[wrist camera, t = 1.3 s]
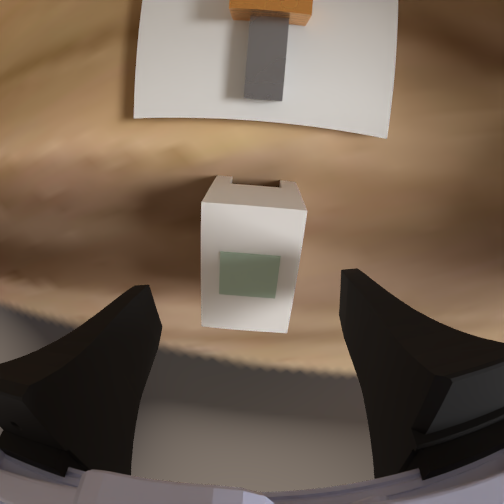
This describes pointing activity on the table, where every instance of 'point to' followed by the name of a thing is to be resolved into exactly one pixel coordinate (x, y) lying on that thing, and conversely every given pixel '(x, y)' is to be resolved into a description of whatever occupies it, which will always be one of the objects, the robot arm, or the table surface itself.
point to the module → (250, 254)
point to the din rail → (268, 42)
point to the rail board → (296, 68)
